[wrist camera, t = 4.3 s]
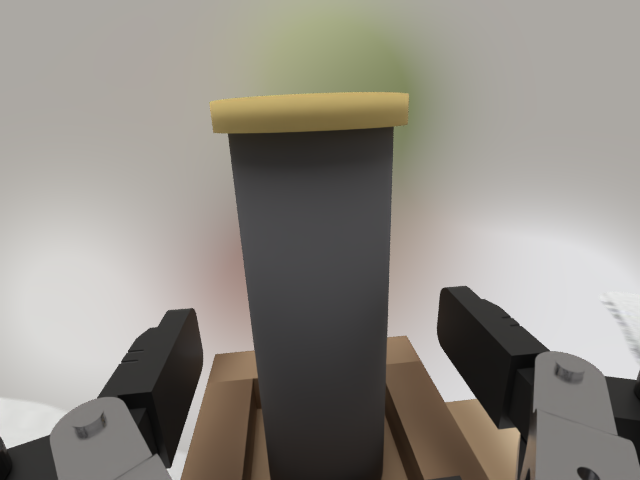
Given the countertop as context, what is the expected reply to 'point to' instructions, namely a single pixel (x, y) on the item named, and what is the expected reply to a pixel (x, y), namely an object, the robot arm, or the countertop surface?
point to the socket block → (399, 428)
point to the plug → (317, 271)
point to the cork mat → (487, 439)
